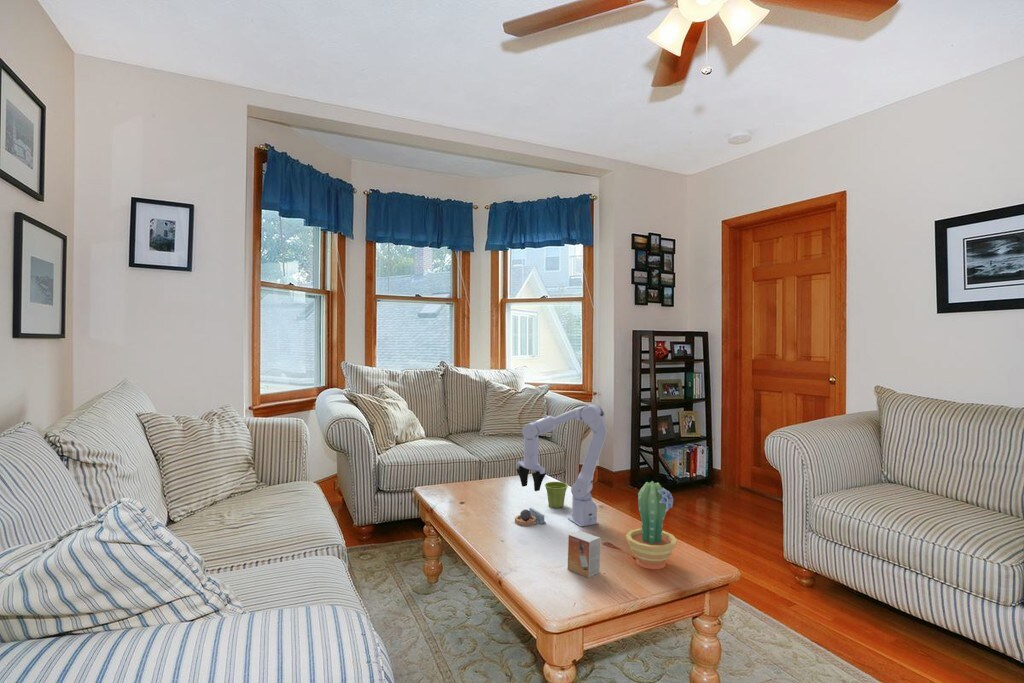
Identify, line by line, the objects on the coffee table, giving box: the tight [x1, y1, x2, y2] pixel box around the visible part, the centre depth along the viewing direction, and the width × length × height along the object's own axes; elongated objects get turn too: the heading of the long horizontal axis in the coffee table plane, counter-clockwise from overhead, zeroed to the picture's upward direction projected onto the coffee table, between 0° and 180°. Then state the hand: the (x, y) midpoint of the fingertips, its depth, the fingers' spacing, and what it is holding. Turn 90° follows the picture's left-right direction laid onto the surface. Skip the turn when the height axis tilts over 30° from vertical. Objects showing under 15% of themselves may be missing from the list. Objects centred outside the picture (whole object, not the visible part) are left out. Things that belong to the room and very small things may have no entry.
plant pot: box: [544, 481, 569, 509], centre depth 218 cm, size 9×9×9 cm
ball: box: [520, 509, 531, 521], centre depth 198 cm, size 4×4×4 cm
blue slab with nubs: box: [528, 507, 547, 525], centre depth 201 cm, size 10×2×3 cm, turn 26°
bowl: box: [514, 515, 537, 527], centre depth 199 cm, size 8×8×1 cm
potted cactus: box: [625, 480, 678, 570], centre depth 164 cm, size 15×15×25 cm
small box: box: [567, 530, 601, 578], centre depth 158 cm, size 8×6×10 cm
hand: (530, 488), depth 208 cm, fingers open, 7 cm apart
